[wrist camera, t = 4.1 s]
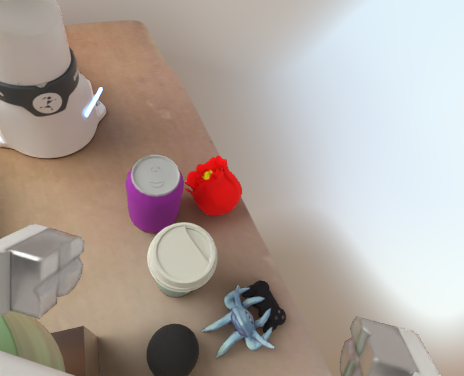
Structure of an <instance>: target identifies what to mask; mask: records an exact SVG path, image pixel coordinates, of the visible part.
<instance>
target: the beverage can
mask: <svg viewBox="0 0 464 376" xmlns="http://www.w3.org/2000/svg"><path fill="white" fill-rule="evenodd" d="M183 187H184V181H183V177H182V174H181V172H180V171H179V169H178V167H177V165H176V164H175V162H173V161H172V160H171V159H169V158H167V157H165V156H162V155H148V156H145V157H143V158H141V159H140V160H138V161H137V162H136V163H135V165H134V166H133V168H132V169H131V171H130V172H129V174H128V175H127V181H126V188H127V198H128V208H129V214H130V218H131V220H132V222H133V223H134V225H135V226H137V227H138V228H139V229H140V230H143V231H145V232H151V233H157V232H160V231H161V230H162V229H164V228H165V227H167V226H169V225H172V224H173V223H174V222H175V220H176V218H177V216H178V212H179V208H180V203H181V198H182V193H183Z"/></svg>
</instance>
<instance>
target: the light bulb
mask: <svg viewBox="0 0 464 376" xmlns="http://www.w3.org/2000/svg"><path fill="white" fill-rule="evenodd" d="M198 355H199V346H198V342H197V339H196V337H195V335H194V333H193V332H192V331H191V330H190V329H189V328H187V327H186V326H183V325H180V324H170V325H166V326H164V327H162V328H160V329H159V330H158V331H157V332H156V333H155V334H154V335H153V337H152V338H151V340H150V342H149V345H148V348H147V362H148V365H149V368H150V370H151V371H152V373H153V374H154V375H155V376H187V375H188V374H189V373H190V372H191V371H192V369H193V368H194V367H195V365H196V362H197V359H198Z"/></svg>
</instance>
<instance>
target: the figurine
mask: <svg viewBox="0 0 464 376" xmlns="http://www.w3.org/2000/svg"><path fill="white" fill-rule="evenodd" d="M240 294H242V296H243V297H249V298H247V299H246V300H245V301H244V302H243V304H241V301H240V296H239V295H240ZM233 300H234V301H235V303H234V301H233ZM224 303H225V305H226V307H227V309H228V310H229V311H230V313H228V314H227V315H225V316H224V317H222V318H221V319H220V320H218V321H216V322H214V323H213V324H211V325H209V326H207V327H206V328H204V329H203V330H202V331H201V332H211V331H214V330H217V329H219V328H221V327H223V326H225V325H228V324H231V323H232V324H233V325H234V327H235V329H236V330H235V331H234V332H233V333H232V335H231V336H230V337H229V338H228V339H227V340H226V341H225V342H224V343H223V345H222V346H221V348H220V349H219V351H218V353H217V356H216V358H217V357H220V356H222V355H224V354H225V353H226V352H227V350H228V349H229V348H230V347H231V346H232V345H233V344H234V343H236V342H237V341H239V340H240V339H242V338H244V340H245V343H246V345H247V347H248V348H249V349H251V350H252V351H255V350H258V349H259V348H261V347H262V346H263V345H264V346H266V347H268V348H275V347H274V346H273V345H272V344H270V343H269V342H267V340H268V339H269V337H270V334H271V332H272V331H273V330H274V329H276V328H277V326H278V325H282V324H283V323H284V322H285V320H286V314H285V312H284V310H283V309H281V308H280V307H279V305H278V304H277V302H276V300H275V299H274V297H273V295H272V294H271V292H270V290H269V285H268V284H267V283H266V282H265V281H258V282H256V283H254V284H253V285H251V286H249V287H247V288H239V285H238V286H237V288H236V289H234V290H233V291H231V292H229V293H228V294H226V296H225V297H224ZM251 305H253V306H254V307H255V308H258V309H259V313H258V314H259V318H260V319H259V320H256V321H254V318H253V316H252V314H251V313H250V312H249V311H247V308H248V307H249V306H251ZM263 325H264V327H263V333H265V334H263V335H262V336H260V335H259V334H258V333H257V331H256V330H255V327H258V328H260V327H262V326H263Z"/></svg>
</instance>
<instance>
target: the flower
mask: <svg viewBox="0 0 464 376" xmlns="http://www.w3.org/2000/svg"><path fill="white" fill-rule="evenodd" d="M196 171H197V172H194V171H192V172H190V173H189V174H188V176H187V182H184V183H185V184H187V185H188V186H190V187H191V188H192V189H193V191H190V190H189V189H186V190H187V191H188V192H190V193H191V194H192V196H193V198H194V201H195V202H196V204H197V205H198V206H199V208H200V209H201V210H202V211H203V212H204V213H206V214H208V215H211V216H213V215H221V214H225V213H228V212H230V211H231V210H232V209H233V208H234V207H235V206H236V205H237V203H238V202H239V200H240V197H241V194H242V188H241V185H240V183H239V181H238V180H237V178H236V177H235V176H234V175H233V174H232V173H231V172H230V171H229V169H228V167H227V160H226V159H222V158H221V157H220V156H217V157H216V158H215V157H214V158H212V159H210V160H209V161H208V162H207V163H206V164H202V165H201V164H200V165H198V166H197V168H196Z"/></svg>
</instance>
